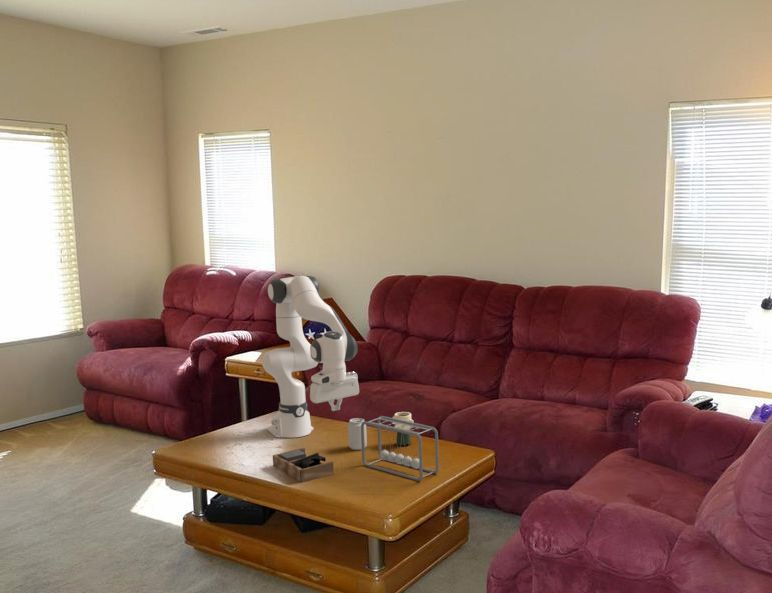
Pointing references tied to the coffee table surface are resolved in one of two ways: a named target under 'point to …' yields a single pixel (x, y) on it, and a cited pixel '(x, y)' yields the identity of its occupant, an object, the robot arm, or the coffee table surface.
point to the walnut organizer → (301, 473)
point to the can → (356, 434)
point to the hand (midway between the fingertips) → (335, 410)
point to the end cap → (310, 461)
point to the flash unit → (293, 455)
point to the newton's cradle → (400, 458)
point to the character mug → (405, 417)
